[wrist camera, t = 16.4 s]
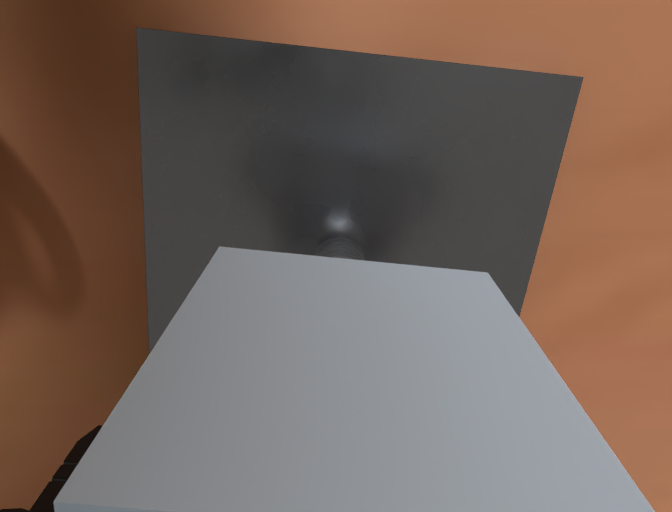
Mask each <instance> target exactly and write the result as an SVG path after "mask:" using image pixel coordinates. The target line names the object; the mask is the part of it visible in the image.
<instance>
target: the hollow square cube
mask: <svg viewBox="0 0 672 512" xmlns="http://www.w3.org/2000/svg"><path fill="white" fill-rule="evenodd" d="M53 504H54V511H55V512H655V511H654V510H653V508H652V507H651V505H650V504H649V503H648V501H647V500H646V498H645V497H644V495H643V494H642V493H641V491H640V490H639V488H638V487H637V485H636V484H635V483H634V481H633V480H632V478H631V477H630V475H629V474H628V472H627V471H626V470H625V468H624V467H623V465H622V464H621V462H620V461H619V460H618V458H617V457H616V455H615V454H614V452H613V451H612V450H611V448H610V447H609V445H608V444H607V442H606V441H605V440H604V438H603V437H602V435H601V434H600V432H599V431H598V430H597V428H596V427H595V425H594V424H593V422H592V421H591V420H590V418H589V417H588V415H587V414H586V412H585V411H584V410H583V408H582V407H581V405H580V404H579V402H578V401H577V399H576V398H575V397H574V395H573V394H572V392H571V391H570V389H569V388H568V387H567V385H566V384H565V382H564V381H563V379H562V378H561V377H560V375H559V374H558V372H557V371H556V369H555V368H554V367H553V365H552V364H551V362H550V361H549V359H548V358H547V357H546V355H545V354H544V352H543V351H542V349H541V348H540V347H539V345H538V344H537V342H536V341H535V339H534V338H533V336H532V335H531V334H530V332H529V331H528V329H527V328H526V326H525V325H524V324H523V322H522V321H521V319H520V318H519V316H518V315H517V314H516V312H515V311H514V309H513V308H512V306H511V305H510V304H509V302H508V301H507V299H506V298H505V296H504V295H503V294H502V292H501V291H500V289H499V288H498V286H497V285H496V284H495V282H494V281H493V279H492V278H491V276H490V275H489V274H488V273H487V272H477V271H467V270H457V269H446V268H436V267H426V266H415V265H405V264H395V263H384V262H374V261H364V260H354V259H343V258H333V257H323V256H312V255H302V254H292V253H281V252H271V251H261V250H251V249H240V248H230V247H220V246H219V248H218V250H217V251H216V253H215V254H214V256H213V257H212V259H211V260H210V262H209V263H208V265H207V266H206V268H205V270H204V271H203V273H202V274H201V276H200V277H199V279H198V280H197V282H196V283H195V285H194V286H193V288H192V290H191V291H190V293H189V294H188V296H187V297H186V299H185V300H184V302H183V303H182V305H181V306H180V308H179V310H178V311H177V313H176V314H175V316H174V317H173V319H172V320H171V322H170V323H169V325H168V326H167V328H166V329H165V331H164V333H163V334H162V336H161V337H160V339H159V340H158V342H157V343H156V345H155V346H154V348H153V349H152V351H151V353H150V354H149V356H148V357H147V359H146V360H145V362H144V363H143V365H142V366H141V368H140V369H139V371H138V373H137V374H136V376H135V377H134V379H133V380H132V382H131V383H130V385H129V386H128V388H127V389H126V391H125V393H124V394H123V396H122V397H121V399H120V400H119V402H118V403H117V405H116V406H115V408H114V409H113V411H112V412H111V414H110V416H109V417H108V419H107V420H106V422H105V423H104V425H103V426H102V428H101V429H100V431H99V432H98V434H97V436H96V437H95V439H94V440H93V442H92V443H91V445H90V446H89V448H88V449H87V451H86V452H85V454H84V456H83V457H82V459H81V460H80V462H79V463H78V465H77V466H76V468H75V469H74V471H73V472H72V474H71V475H70V477H69V479H68V480H67V482H66V483H65V485H64V486H63V488H62V489H61V491H60V492H59V494H58V495H57V497H56V499H55V500H54V502H53Z"/></svg>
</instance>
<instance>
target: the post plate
mask: <svg viewBox="0 0 672 512" xmlns="http://www.w3.org/2000/svg"><path fill="white" fill-rule="evenodd" d="M136 34H137V59H138V84H139V109H140V134H141V159H142V184H143V209H144V234H145V259H146V284H147V309H148V334H149V354H150V353H151V351H152V349H153V348H154V346H155V345H156V343H157V342H158V340H159V339H160V337H161V336H162V334H163V333H164V331H165V329H166V328H167V326H168V325H169V323H170V322H171V320H172V319H173V317H174V316H175V314H176V313H177V311H178V310H179V308H180V306H181V305H182V303H183V302H184V300H185V299H186V297H187V296H188V294H189V293H190V291H191V290H192V288H193V286H194V285H195V283H196V282H197V280H198V279H199V277H200V276H201V274H202V273H203V271H204V270H205V268H206V266H207V265H208V263H209V262H210V260H211V259H212V257H213V256H214V254H215V253H216V251H217V250H218V248H219V246H220V247H230V248H240V249H251V250H261V251H271V252H281V253H292V254H302V255H312V256H323V257H333V258H343V259H354V260H364V261H374V262H384V263H395V264H405V265H415V266H426V267H436V268H446V269H457V270H467V271H477V272H487V273H488V274H489V275H490V276H491V278H492V279H493V281H494V282H495V284H496V285H497V286H498V288H499V289H500V291H501V292H502V294H503V295H504V296H505V298H506V299H507V301H508V302H509V304H510V305H511V306H512V308H513V309H514V311H515V312H516V314H517V315H518V316H520V312H521V308H522V304H523V301H524V297H525V293H526V290H527V286H528V282H529V278H530V275H531V271H532V267H533V263H534V260H535V256H536V252H537V248H538V245H539V241H540V237H541V234H542V230H543V226H544V222H545V219H546V215H547V211H548V207H549V204H550V200H551V196H552V192H553V189H554V185H555V181H556V178H557V174H558V170H559V166H560V163H561V159H562V155H563V151H564V148H565V144H566V140H567V137H568V133H569V129H570V125H571V122H572V118H573V114H574V110H575V107H576V103H577V99H578V95H579V92H580V88H581V84H582V81H583V77H577V76H568V75H559V74H550V73H541V72H532V71H523V70H514V69H505V68H496V67H487V66H478V65H469V64H460V63H451V62H442V61H433V60H423V59H414V58H405V57H396V56H387V55H378V54H369V53H360V52H351V51H342V50H333V49H324V48H315V47H306V46H297V45H288V44H279V43H270V42H261V41H252V40H243V39H234V38H225V37H216V36H207V35H198V34H189V33H180V32H171V31H162V30H153V29H144V28H136Z"/></svg>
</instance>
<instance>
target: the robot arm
mask: <svg viewBox="0 0 672 512" xmlns="http://www.w3.org/2000/svg"><path fill="white" fill-rule="evenodd" d="M101 428H102V426H101V425H99V426H97V427H96V428H95V429H93V430H92V431H91V432H89V433H88V434H87V435H85V436H84V437H83V438H81V439H80V440H79V441H77V443H76V444H75V446H74V447H73V449H72V450H71V452H70V453H69V454H68V456H67V457H66V459H65V460H64V464H63V465H61V466H60V467H59V469H58V470H57V472H56V473H55V475H54V476H53V479H52V481H51V482H49V483H48V485H47V486H46V488H45V489H44V490H43V492H42V493H41V495H40V496H39V498H38V499H37V500H36V502H35V503H34V505H33V506H32V508H31V509H30V511H28V510H25V509H22V508H17V509H2V510H0V512H55V511H54V504H53V502H54V500H55V499H56V497H57V495H58V494H59V492H60V491H61V489H62V488H63V486H64V485H65V483H66V482H67V480H68V479H69V477H70V475H71V474H72V472H73V471H74V469H75V468H76V466H77V465H78V463H79V462H80V460H81V459H82V457H83V456H84V454H85V452H86V451H87V449H88V448H89V446H90V445H91V443H92V442H93V440H94V439H95V437H96V436H97V434H98V432H99V431H100V429H101Z"/></svg>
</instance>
